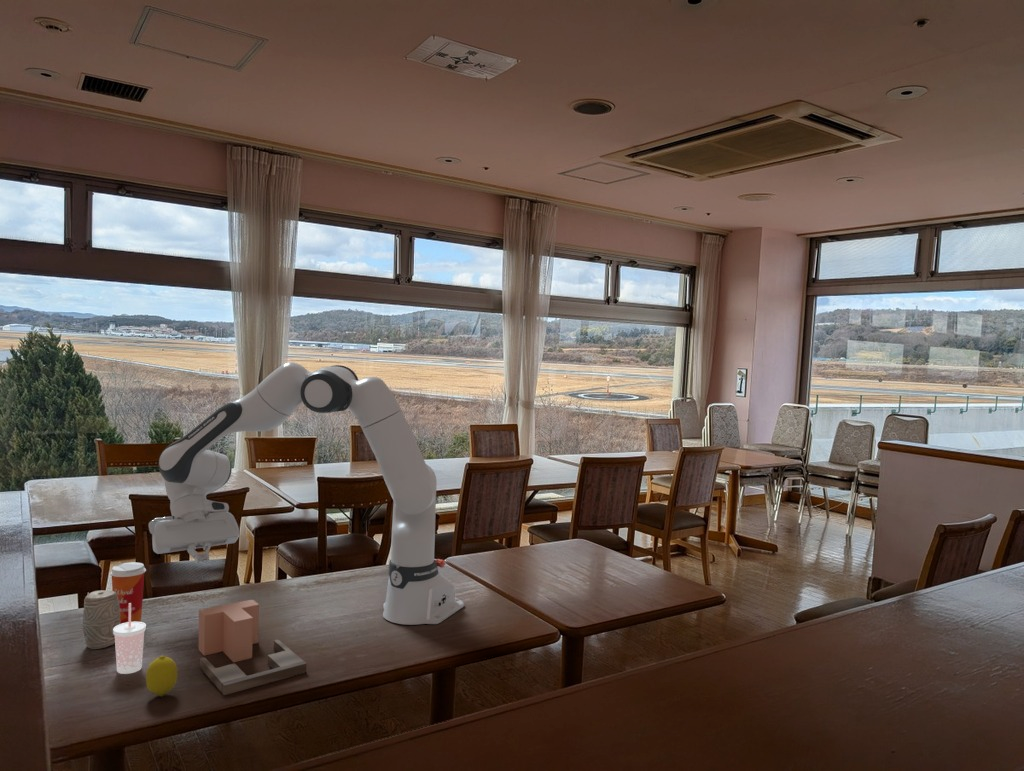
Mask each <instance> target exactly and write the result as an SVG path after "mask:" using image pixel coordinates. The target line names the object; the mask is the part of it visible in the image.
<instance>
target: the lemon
mask: <svg viewBox="0 0 1024 771" xmlns="http://www.w3.org/2000/svg"><path fill="white" fill-rule="evenodd" d="M177 680H178V667H177V664H176V662H175V661H174V660H173V659H172V658H171V657H168V656H165V655H160V656H158V657H157V658H155V659H153V660H152V661H151V662H150V663H149V665H148V667H147V669H146V675H145V683H146V687H147V690H149V692H151V693H152V694H154V695H157V696H159V697H163V696H164V695H165V694H167V693H169V692H170V691H172V690H173V688H174V686H175V685H176V683H177Z"/></svg>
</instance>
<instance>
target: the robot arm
mask: <svg viewBox="0 0 1024 771" xmlns="http://www.w3.org/2000/svg"><path fill="white" fill-rule="evenodd" d="M303 404H304V405H305V407H306V408H308V410H310V411H312V412H314V413H319V414H330V413H336V412H337V413H338V412H343V411H346V410H349V411H351V412H352V414H353V415H354V416H355V418H356V420H357V422H358V423H359V426H360V428H361V430H362V432H363V434H364V436H365V439H366V440H367V442H368V444H369V447H370V449H371V450H372V453H373V454H374V457H375V460H376V463H377V466H378V467H379V469H380V472H381V475H382V478H383V480H384V482H385V485H386V487H387V490H388V493H389V495H390V496H391V498H392V500H393V508H392V521H391V522H392V526H391V542H390V543H391V545H390V547H391V548H390V560H389V562H388V575H389V576H388V580H387V588H386V595H385V602H383V605H382V607H383V611H382V612H383V613H382V617H383V618H384V619H385V620H387V621H389V623H390V622H391V623H394V624H399V625H409V626H410V625H411V626H412V625H425V624H427V625H438V624H440V623H442V622H443V621H444V620H446V619H448V618H449V617H451V616H452V615H453V614H456V612H458V611H459V610H461V609H462V608H464V606H465V603H464V602H463V600H461V599H459V598H458V597H456V588H455V586H454V584H453V582H452V581H450V580H449V579H448V578H446V577H445V576H443V574H441V573H440V572H439V568H441V569H442V568H444V567H445V565H446V561H445V559H440V558H437V559H435V545H436V544H435V542H436V536H435V535H436V512H437V511H436V505H437V476H436V474H435V472H434V470H433V468H432V467H431V466H429V464H427V463H426V461H425V459H424V457H423V454H422V451H421V449H420V447H419V444H418V442H417V440H416V439H417V438H416V437H415V435H414V432H413V431H412V429H411V426H410V424H409V422H408V421H407V419H406V418H407V417H406V416H405V414H404V412H403V410H402V408H401V406H400V403H399V402H398V400H397V398H396V397H395V395H394V394H393V392H392V391H391V389H390V388H389V387H388V385H387V383H386V382H385V381H384V380H383V379H382V378H380V377H377V376H367V377H364V378H361V379H359V378H358V375H357V374H356V372H354V371H353V369H351V368H349V367H348V366H344V365H339V364H335V365H330V366H324V367H322V368H319V369H317V370H314V371H313V372H311V371H309V370H308V369H307V368H305V367H304V366H303V365H301V364H299V363H297V362H286V363H283V364H282V365H280V366H279V367H278V368H276V369H275V370H273V371H272V372H271V373H270V374H269V375H267V376H266V377H265V378H264V379H263V380H262V381H260V383H259V384H257V385H256V387H255V388H254V389H253V390H251V391H249V392H248V393H246V394H245V395H244V396H241V397H240V398H238V399H236V400H234V401H231V402H228V403H226V404H224V405H222V406H221V407H219V408H218V409H217V410H215V411H214V412H213V413H211V414H210V415H209V416H208V417H206V418H205V419H204V420H202V422H200V423H198V424H197V426H195V427H194V428H192V430H190V431H189V432H188V433H187V434H185V435H184V436H183V437H181V438H179V439H177V440H175V441H174V442H172V443H170V444H169V445H167V446H166V447H165V448H164V449H163V450H162V451H161V453H160V455H159V457H158V462H157V465H158V466H157V467H158V470H159V473H160V475H161V476H162V478H163V479H164V487H165V491H166V495H167V497H168V500H170V501H169V502H170V503H169V509H170V513H171V516H170V515H169V516H164V517H155V518H153V519H152V520H150V521H149V522H148V524H147V525H148V530H149V533H150V534H151V541H152V550H153V552H154V553H155V554H157V555H159V554H160V555H161V554H168V553H169V554H170V553H174V552H181V551H187V553H188V554H189V556H191V557H192V558H193V559H194V563H195V564H202V563H208V562H209V561H210V555H209V552H210V550H211V547H215V546H221V545H229V544H235V543H236V542H237V541H238V539H239V537H240V533H241V532H240V528H239V525H238V523H237V520H236V518H235V516H234V515H233V514H232V513H231V512H229V510H230V506H229V503H227V502H220V501H216V500H210V499H207V495H209V494H213V493H215V492H216V491H217V490H219V489H221V488H222V487H224V486H225V485H226V484H227V483H228V481H229V480H230V478H231V476H232V468H233V467H232V462H231V460H230V458H229V457H228V456H227V455H226V454H223V453H220V452H217V451H215V450H210V449H209V448H211V447H212V446H213V445H214V444H215V443H216V442H218V441H219V440H220V439H221V438H223V437H224V436H226V435H230V434H232V433H241V432H270V431H273V430H275V429H277V428H279V427H280V426H282V424H284V423H285V421H287V420H288V419H289V418H290V417H291V416H292V415H293V413H294V412H296V411H297V409H298V408H299V407H300V406H302V405H303ZM201 548H202V549H203V551H205V552H203V553H199V552H198V551H196V549H201Z"/></svg>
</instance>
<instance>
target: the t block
mask: <svg viewBox="0 0 1024 771" xmlns="http://www.w3.org/2000/svg"><path fill="white" fill-rule="evenodd" d="M259 610H260V605H259V603H258V602H256V600H254V599H247V600H242V601H237V602H233V603H232V602H231V603H228V604H223V605H217V606H212V607H208V608H202V609H199V610H198V650H199V652H200V653H201V654H202V656H204V657H205V656H207V655H213V654H217V653H221V652H223V653H224V654H225V656H227V657H228V659H229V660H230V661H231V662H232V663H237V662H241V661H246V660H249V659H252V658H253V645H254V644H258V643H259V626H260V624H259V621H260V618H259V617H260V615H259V612H260V611H259Z"/></svg>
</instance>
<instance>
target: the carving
mask: <svg viewBox="0 0 1024 771" xmlns="http://www.w3.org/2000/svg"><path fill="white" fill-rule="evenodd" d="M117 596H118V595H117V594H116V592H114V591H112V590H106V589H105V590H102V589H101V590H94V591H92V592H89V593H88V594H87V595H86V596H85V597H84V600H83V611H82V612H83V614H82V634H83V636H84V641H85V645H86V647H87V648H88V649H91V650H100V649H104V648H107V647H110V646H112V645H115V635H114V634H113V629H114V627H115V626H117V625H119V624H120V613H119V609H120V606H119V601H118V597H117Z"/></svg>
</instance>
